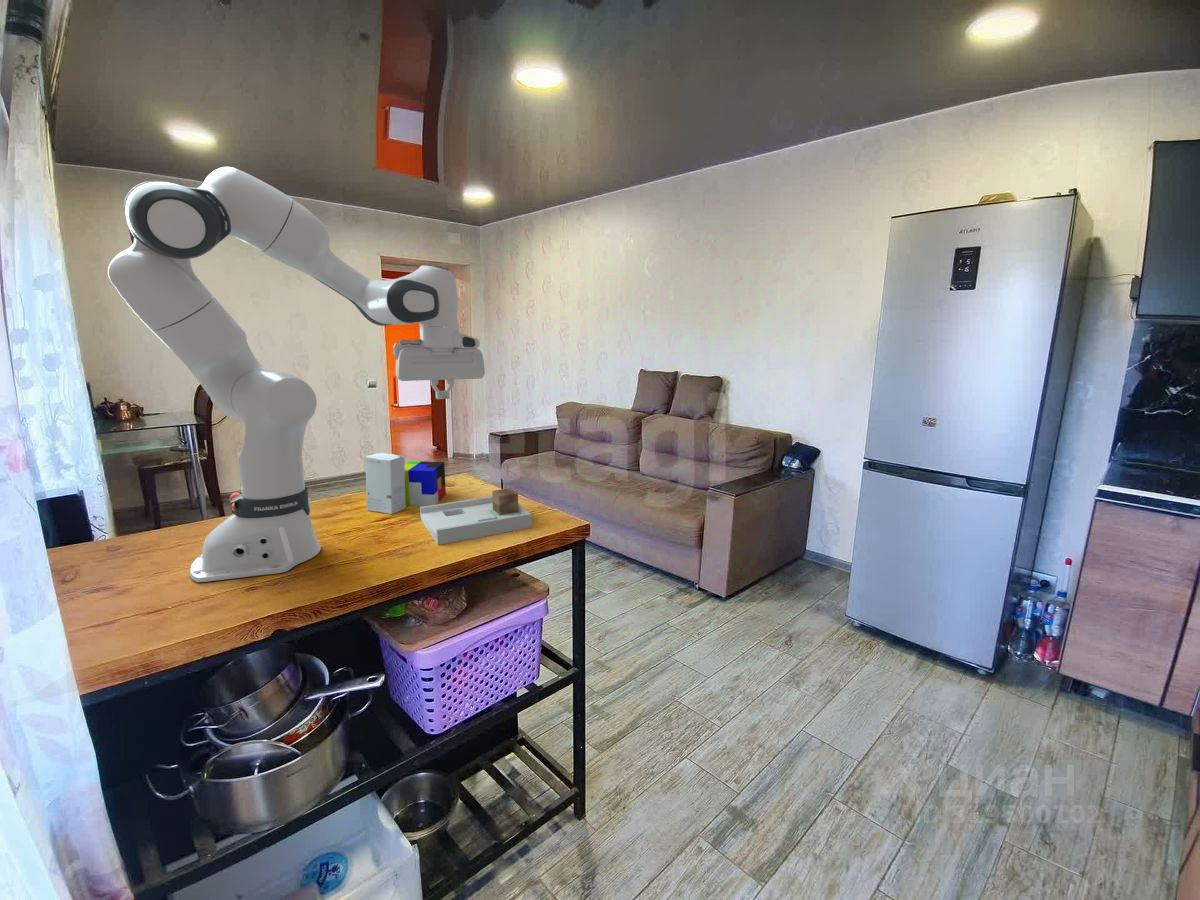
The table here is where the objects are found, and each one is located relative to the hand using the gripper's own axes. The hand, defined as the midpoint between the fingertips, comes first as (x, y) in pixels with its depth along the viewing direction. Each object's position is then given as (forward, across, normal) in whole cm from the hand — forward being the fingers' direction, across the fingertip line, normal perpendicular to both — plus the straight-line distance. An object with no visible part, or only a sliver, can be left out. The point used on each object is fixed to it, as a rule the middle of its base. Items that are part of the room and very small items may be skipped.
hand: (442, 398), depth 123 cm
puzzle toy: (+31, -2, +20) cm, 37 cm away
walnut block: (+29, +13, -5) cm, 32 cm away
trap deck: (+31, +5, -5) cm, 32 cm away
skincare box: (+31, -12, +16) cm, 37 cm away
